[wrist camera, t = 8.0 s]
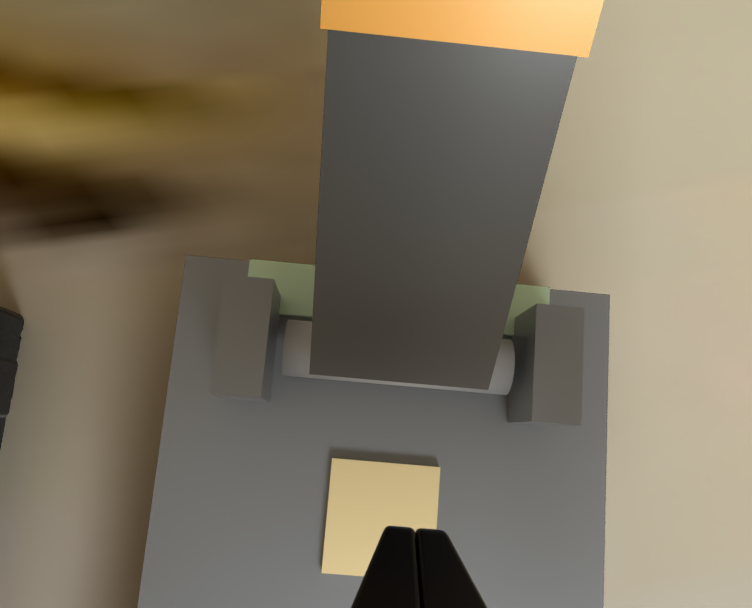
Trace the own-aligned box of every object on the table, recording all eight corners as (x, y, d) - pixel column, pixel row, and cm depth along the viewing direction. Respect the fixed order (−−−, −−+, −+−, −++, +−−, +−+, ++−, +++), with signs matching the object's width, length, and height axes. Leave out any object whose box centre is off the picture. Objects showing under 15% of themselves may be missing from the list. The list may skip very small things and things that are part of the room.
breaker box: (538, 859, 18) (637, 1067, 12) (145, 835, 17) (47, 1039, 12) (557, 321, 20) (646, 276, 15) (215, 289, 20) (165, 230, 14)
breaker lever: (509, 430, 14) (672, -101, 9) (277, 410, 14) (286, -146, 9) (495, 349, 17) (618, -122, 11) (292, 330, 16) (308, -159, 11)
